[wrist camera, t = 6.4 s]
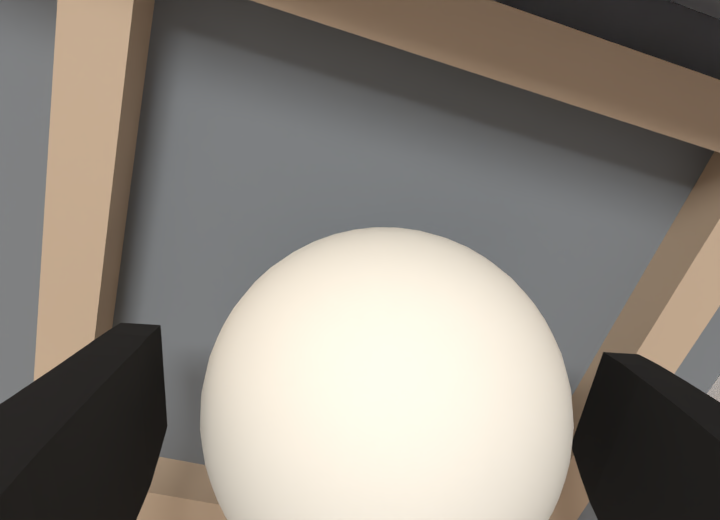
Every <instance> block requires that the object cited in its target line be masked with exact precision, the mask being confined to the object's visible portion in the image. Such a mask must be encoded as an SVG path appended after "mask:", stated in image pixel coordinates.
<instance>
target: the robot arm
mask: <svg viewBox="0 0 720 520" xmlns="http://www.w3.org/2000/svg"><path fill="white" fill-rule="evenodd" d="M166 430H167V411H166V396H165V382H164V367H163V352H162V337H161V325H151V324H135V323H119V324H118V325H116V326H115V327H113V328H111V329H110V330H108V331H107V332H105V333H104V334H102V335H101V336H99V337H98V338H96V339H95V340H93V341H92V342H91V343H89V344H88V345H86V346H85V347H83V348H82V349H80V350H79V351H78V352H76V353H75V354H73V355H72V356H70V357H69V358H68V359H66V360H65V361H63V362H62V363H60V364H59V365H57V366H56V367H54V368H53V369H52V370H50V371H49V372H47V373H46V374H44V375H43V376H41V377H40V378H38V379H37V380H35V381H34V382H32V383H31V384H29V385H28V386H26V387H25V388H23V389H22V390H20V391H19V392H18V393H16V394H15V395H13V396H12V397H10V398H9V399H7V400H5V401H4V402H2V403H1V404H0V520H137V517H138V515H139V512H140V510H141V508H142V505H143V503H144V500H145V498H146V496H147V493H148V491H149V488H150V486H151V482H152V479H153V476H154V472H155V469H156V466H157V462H158V459H159V455H160V452H161V448H162V444H163V441H164V437H165V434H166ZM572 451H573V454H574V457H575V461H576V464H577V467H578V470H579V473H580V476H581V479H582V482H583V485H584V488H585V490H586V493H587V496H588V499H589V502H590V504H591V506H592V508H593V511H594V513H595V515H596V517H597V519H598V520H720V402H718V401H717V400H715V399H714V398H712V397H710V396H709V395H707V394H706V393H704V392H703V391H701V390H699V389H698V388H696V387H695V386H693V385H691V384H690V383H688V382H687V381H685V380H683V379H682V378H680V377H678V376H677V375H675V374H673V373H672V372H670V371H668V370H667V369H665V368H663V367H662V366H660V365H658V364H656V363H654V362H653V361H651V360H649V359H647V358H645V357H643V356H641V355H639V354H627V353H611V352H603V354H602V357H601V360H600V363H599V365H598V368H597V371H596V374H595V377H594V380H593V383H592V385H591V388H590V391H589V394H588V397H587V400H586V403H585V405H584V408H583V411H582V414H581V417H580V420H579V423H578V425H577V428H576V431H575V434H574V437H573V441H572Z"/></svg>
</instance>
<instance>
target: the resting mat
mask: <svg viewBox="0 0 720 520" xmlns="http://www.w3.org/2000/svg"><path fill="white" fill-rule="evenodd" d="M373 227H398V228H405V229H412V230H419V231H423V232H427V233H430V234H434V235H438V236H441V237H444V238H447V239H450V240H452V241H454V242H457V243H459V244H462V245H464V246H466V247H468V248H470V249H472V250H473V251H475V252H477V253H478V254H480V255H482V256H484V257H485V258H487V259H488V260H489V261H491V262H492V263H493V264H495V265H496V266H497V267H498V268H500V269H501V270H502V271H503V272H505V273H506V274H507V275H508V276H510V277H511V278H512V279H513V280H514V281H515V282H516V283H517V285H518V286H519V287H520V288H521V289H522V290H523V291H524V292H525V293H526V294H527V296H528V297H529V298H530V299H531V300H532V302H533V303H534V304H535V306H536V307H537V309H538V310H539V312H540V313H541V315H542V316H543V318H544V319H545V321H546V322H547V324H548V326H549V328H550V330H551V332H552V334H553V336H554V338H555V341H556V343H557V345H558V347H559V349H560V352H561V354H562V357H563V361H564V365H565V368H566V372H567V376H568V380H569V384H570V388H571V396H572V409H573V422H574V430H573V437H574V434H575V431H576V428H577V425H578V423H579V420H580V417H581V414H582V411H583V408H584V405H585V403H586V400H587V397H588V394H589V391H590V388H591V385H592V383H593V380H594V377H595V374H596V371H597V368H598V365H599V363H600V360H601V357H602V354H603V352H611V353H627V354H639V355H641V356H643V357H645V358H647V359H649V360H651V361H653V362H654V363H656V364H658V365H660V366H662V367H663V368H665V369H667V370H668V371H670V372H672V373H673V374H675V375H677V376H678V377H680V378H682V379H683V380H685V381H687V382H688V383H690V384H691V385H693V386H695V387H696V388H698V389H699V390H701V391H703V392H704V393H706V394H707V392H708V391H709V390H710V388H711V387H712V385H713V384H714V383H715V381H716V380H717V378H718V377H719V375H720V80H719V79H716V78H713V77H710V76H707V75H704V74H702V73H699V72H696V71H693V70H690V69H687V68H684V67H682V66H679V65H676V64H673V63H670V62H667V61H664V60H662V59H659V58H656V57H653V56H650V55H647V54H644V53H642V52H639V51H636V50H633V49H630V48H627V47H624V46H622V45H619V44H616V43H613V42H610V41H607V40H604V39H602V38H599V37H596V36H593V35H590V34H587V33H584V32H582V31H579V30H576V29H573V28H570V27H567V26H564V25H562V24H559V23H556V22H553V21H550V20H547V19H544V18H542V17H539V16H536V15H533V14H530V13H527V12H524V11H522V10H519V9H516V8H513V7H510V6H507V5H504V4H502V3H499V2H496V1H493V0H0V404H1V403H2V402H4V401H5V400H7V399H9V398H10V397H12V396H13V395H15V394H16V393H18V392H19V391H20V390H22V389H23V388H25V387H26V386H28V385H29V384H31V383H32V382H34V381H35V380H37V379H38V378H40V377H41V376H43V375H44V374H46V373H47V372H49V371H50V370H52V369H53V368H54V367H56V366H57V365H59V364H60V363H62V362H63V361H65V360H66V359H68V358H69V357H70V356H72V355H73V354H75V353H76V352H78V351H79V350H80V349H82V348H83V347H85V346H86V345H88V344H89V343H91V342H92V341H93V340H95V339H96V338H98V337H99V336H101V335H102V334H104V333H105V332H107V331H108V330H110V329H111V328H113V327H115V326H116V325H118V324H119V323H135V324H151V325H161V337H162V352H163V367H164V382H165V396H166V411H167V430H166V434H165V437H164V441H163V444H162V448H161V452H160V455H159V459H158V462H157V466H156V469H155V472H154V476H153V479H152V482H151V486H150V488H149V491H148V493H147V496H146V498H145V500H144V503H143V505H142V508H141V510H140V512H139V515H138V517H137V520H227V518H226V517H225V515H224V513H223V511H222V509H221V507H220V505H219V503H218V501H217V498H216V496H215V493H214V491H213V488H212V485H211V483H210V479H209V476H208V473H207V469H206V466H205V461H204V455H203V449H202V441H201V433H200V410H201V392H202V388H203V383H204V379H205V374H206V370H207V365H208V361H209V357H210V354H211V352H212V349H213V347H214V344H215V342H216V340H217V337H218V335H219V333H220V331H221V329H222V327H223V325H224V323H225V321H226V320H227V318H228V316H229V315H230V313H231V311H232V310H233V308H234V307H235V305H236V304H237V303H238V302H239V300H240V299H241V298H242V297H243V296H244V294H245V293H246V292H247V291H248V290H249V288H250V287H251V286H252V285H253V283H254V282H255V281H256V280H257V279H259V278H260V277H261V276H262V275H263V274H264V273H265V272H266V271H267V270H268V269H269V268H271V267H272V266H274V265H275V264H276V263H278V262H279V261H281V260H282V259H284V258H285V257H287V256H288V255H290V254H291V253H293V252H294V251H296V250H298V249H300V248H302V247H304V246H306V245H308V244H310V243H312V242H314V241H317V240H319V239H322V238H325V237H328V236H330V235H333V234H337V233H341V232H346V231H350V230H354V229H364V228H373ZM549 520H598V519H597V517H596V515H595V513H594V511H593V508H592V506H591V504H590V502H589V499H588V496H587V493H586V490H585V488H584V485H583V482H582V479H581V476H580V473H579V470H578V467H577V464H576V461H575V457H574V454H573V451H572V450H571V458H570V465H569V468H568V472H567V476H566V479H565V483H564V485H563V488H562V491H561V494H560V497H559V500H558V502H557V504H556V506H555V509H554V511H553V513H552V515H551V516H550V518H549Z"/></svg>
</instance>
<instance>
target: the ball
mask: <svg viewBox="0 0 720 520" xmlns="http://www.w3.org/2000/svg"><path fill="white" fill-rule="evenodd" d="M573 430H574V422H573V409H572V396H571V388H570V384H569V380H568V376H567V372H566V368H565V365H564V361H563V357H562V354H561V352H560V349H559V347H558V345H557V343H556V341H555V338H554V336H553V334H552V332H551V330H550V328H549V326H548V324H547V322H546V321H545V319H544V318H543V316H542V315H541V313H540V312H539V310H538V309H537V307H536V306H535V304H534V303H533V302H532V300H531V299H530V298H529V297H528V296H527V294H526V293H525V292H524V291H523V290H522V289H521V288H520V287H519V286H518V285H517V283H516V282H515V281H514V280H513V279H512V278H511V277H510V276H508V275H507V274H506V273H505V272H503V271H502V270H501V269H500V268H498V267H497V266H496V265H495V264H493V263H492V262H491V261H489V260H488V259H487V258H485V257H484V256H482V255H480V254H478V253H477V252H475V251H473V250H472V249H470V248H468V247H466V246H464V245H462V244H459V243H457V242H454V241H452V240H450V239H447V238H444V237H441V236H438V235H434V234H430V233H427V232H423V231H419V230H412V229H405V228H398V227H373V228H364V229H354V230H350V231H346V232H341V233H337V234H333V235H330V236H328V237H325V238H322V239H319V240H317V241H314V242H312V243H310V244H308V245H306V246H304V247H302V248H300V249H298V250H296V251H294V252H293V253H291V254H290V255H288V256H287V257H285V258H284V259H282V260H281V261H279V262H278V263H276V264H275V265H274V266H272V267H271V268H269V269H268V270H267V271H266V272H265V273H264V274H263V275H262V276H261V277H260V278H259V279H257V280H256V281H255V282H254V283H253V285H252V286H251V287H250V288H249V290H248V291H247V292H246V293H245V294H244V296H243V297H242V298H241V299H240V300H239V302H238V303H237V304H236V305H235V307H234V308H233V310H232V311H231V313H230V315H229V316H228V318H227V320H226V321H225V323H224V325H223V327H222V329H221V331H220V333H219V335H218V337H217V340H216V342H215V344H214V347H213V349H212V352H211V354H210V357H209V361H208V365H207V370H206V374H205V379H204V383H203V388H202V392H201V410H200V433H201V441H202V449H203V455H204V461H205V466H206V469H207V473H208V476H209V479H210V483H211V485H212V488H213V491H214V493H215V496H216V498H217V501H218V503H219V505H220V507H221V509H222V511H223V513H224V515H225V517H226V518H227V520H549V518H550V516H551V515H552V513H553V511H554V509H555V506H556V504H557V502H558V500H559V497H560V494H561V491H562V488H563V485H564V483H565V479H566V476H567V472H568V468H569V465H570V458H571V450H572V441H573Z"/></svg>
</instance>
